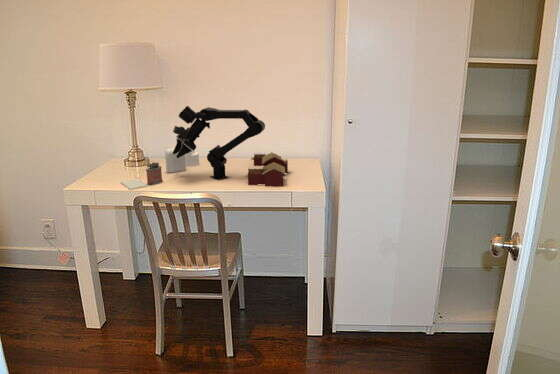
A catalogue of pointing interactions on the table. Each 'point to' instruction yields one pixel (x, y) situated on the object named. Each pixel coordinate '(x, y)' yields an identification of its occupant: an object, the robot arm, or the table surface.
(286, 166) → the toy houses
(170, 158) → the photo printer
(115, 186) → the table surface
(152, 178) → the lighter
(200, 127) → the robot arm
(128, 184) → the mat
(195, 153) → the base with upright slab
